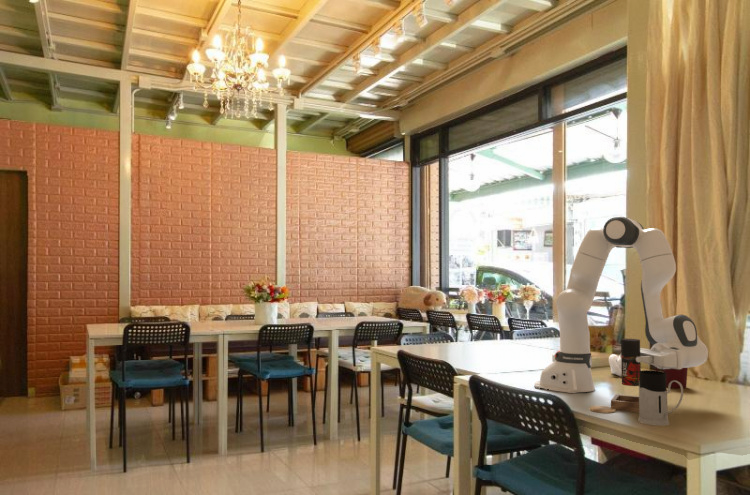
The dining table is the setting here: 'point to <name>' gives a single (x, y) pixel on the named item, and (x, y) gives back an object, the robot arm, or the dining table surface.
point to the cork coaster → (602, 409)
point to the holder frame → (625, 403)
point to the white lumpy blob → (615, 364)
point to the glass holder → (654, 397)
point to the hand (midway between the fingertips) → (628, 357)
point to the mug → (676, 377)
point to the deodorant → (630, 361)
